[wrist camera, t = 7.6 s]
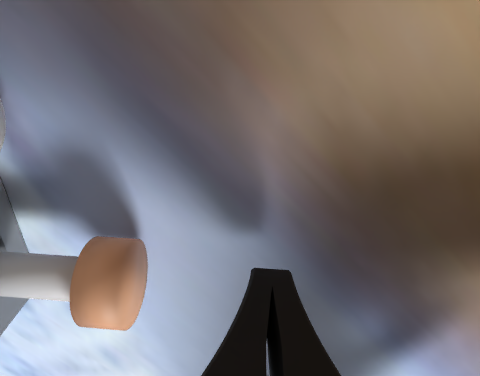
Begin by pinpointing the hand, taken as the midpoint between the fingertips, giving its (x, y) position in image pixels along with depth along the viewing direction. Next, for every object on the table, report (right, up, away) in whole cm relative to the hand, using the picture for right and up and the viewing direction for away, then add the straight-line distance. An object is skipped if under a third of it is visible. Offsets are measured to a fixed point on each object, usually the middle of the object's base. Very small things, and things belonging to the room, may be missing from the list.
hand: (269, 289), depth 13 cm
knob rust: (-8, +1, +2) cm, 8 cm away
